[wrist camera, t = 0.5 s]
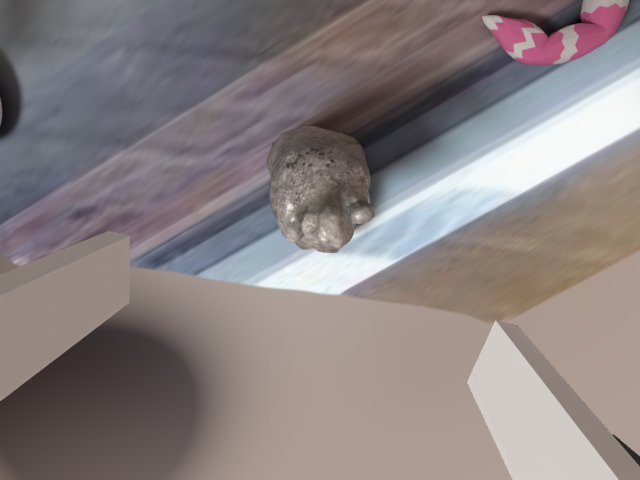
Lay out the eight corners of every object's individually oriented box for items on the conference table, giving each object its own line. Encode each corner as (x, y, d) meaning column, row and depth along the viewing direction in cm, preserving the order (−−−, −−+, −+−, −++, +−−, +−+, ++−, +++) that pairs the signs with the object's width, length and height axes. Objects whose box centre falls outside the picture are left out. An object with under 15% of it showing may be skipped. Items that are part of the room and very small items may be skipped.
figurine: (335, 257, 39) (322, 356, 22) (248, 212, 38) (163, 277, 21) (393, 158, 34) (435, 183, 17) (296, 104, 33) (241, 75, 16)
